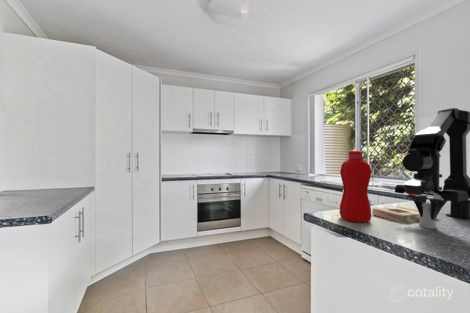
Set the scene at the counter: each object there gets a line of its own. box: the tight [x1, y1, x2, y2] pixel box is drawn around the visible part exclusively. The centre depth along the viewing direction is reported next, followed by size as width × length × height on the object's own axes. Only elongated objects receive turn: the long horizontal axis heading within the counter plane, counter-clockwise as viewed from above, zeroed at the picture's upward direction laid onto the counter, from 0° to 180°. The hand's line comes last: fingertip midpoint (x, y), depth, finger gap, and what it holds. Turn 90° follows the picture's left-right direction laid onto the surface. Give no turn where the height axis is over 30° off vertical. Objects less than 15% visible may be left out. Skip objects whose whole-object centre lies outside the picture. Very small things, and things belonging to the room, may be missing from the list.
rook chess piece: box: [418, 201, 437, 230], centre depth 78 cm, size 4×4×8 cm
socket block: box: [371, 205, 438, 224], centre depth 91 cm, size 18×12×2 cm, turn 109°
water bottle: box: [339, 150, 374, 223], centre depth 86 cm, size 9×11×25 cm
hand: (427, 218), depth 78 cm, fingers open, 3 cm apart
